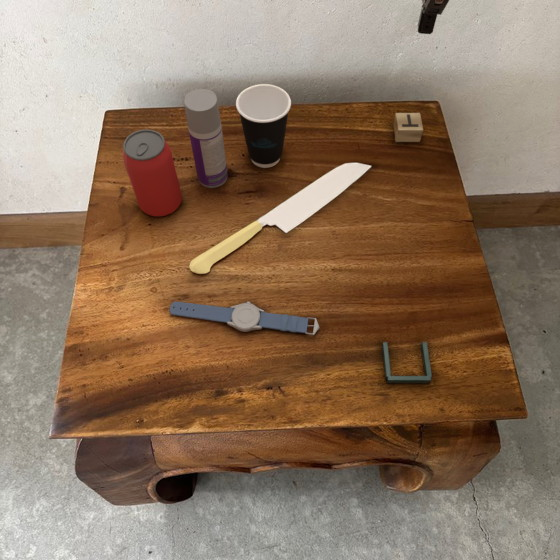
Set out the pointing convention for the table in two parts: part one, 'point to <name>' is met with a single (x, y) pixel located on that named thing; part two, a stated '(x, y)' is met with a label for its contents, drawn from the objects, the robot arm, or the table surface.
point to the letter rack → (407, 378)
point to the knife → (286, 212)
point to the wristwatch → (244, 317)
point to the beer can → (152, 172)
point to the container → (206, 137)
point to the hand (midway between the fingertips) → (424, 30)
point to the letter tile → (408, 127)
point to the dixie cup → (264, 122)
